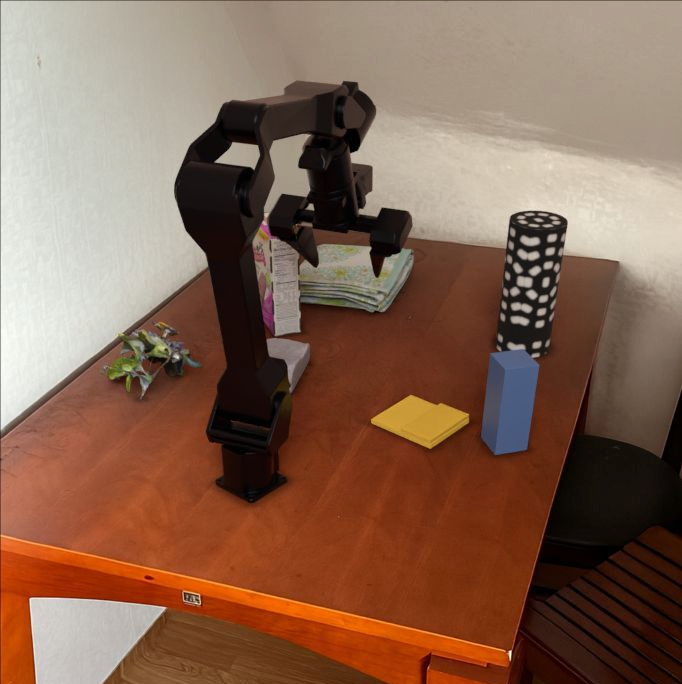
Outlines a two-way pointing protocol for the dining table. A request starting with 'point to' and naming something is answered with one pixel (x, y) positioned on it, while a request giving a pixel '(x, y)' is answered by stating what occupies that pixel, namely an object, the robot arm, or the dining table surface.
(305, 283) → the towel
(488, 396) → the block
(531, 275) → the spotted tube
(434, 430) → the cloth
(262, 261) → the candy bar box
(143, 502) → the dining table surface
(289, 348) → the stone block
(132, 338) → the passion flower
